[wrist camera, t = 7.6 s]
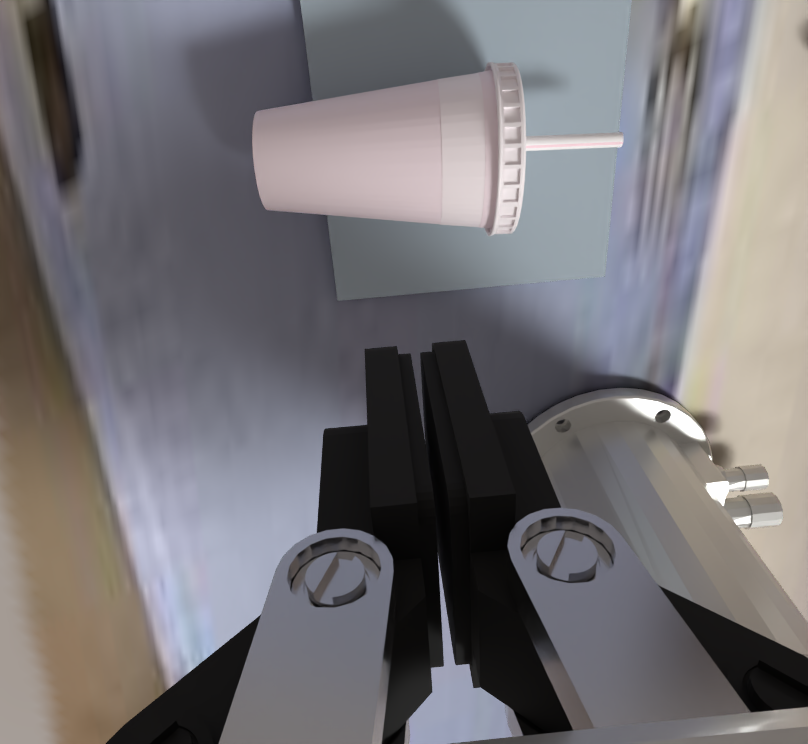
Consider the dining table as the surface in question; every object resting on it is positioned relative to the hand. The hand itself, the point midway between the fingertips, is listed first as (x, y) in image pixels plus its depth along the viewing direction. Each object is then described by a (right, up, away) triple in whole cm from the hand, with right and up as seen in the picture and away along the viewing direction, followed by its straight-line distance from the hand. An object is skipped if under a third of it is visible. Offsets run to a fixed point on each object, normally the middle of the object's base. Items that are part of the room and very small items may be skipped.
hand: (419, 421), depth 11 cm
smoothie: (-6, +9, +15) cm, 18 cm away
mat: (+2, +11, +18) cm, 21 cm away
